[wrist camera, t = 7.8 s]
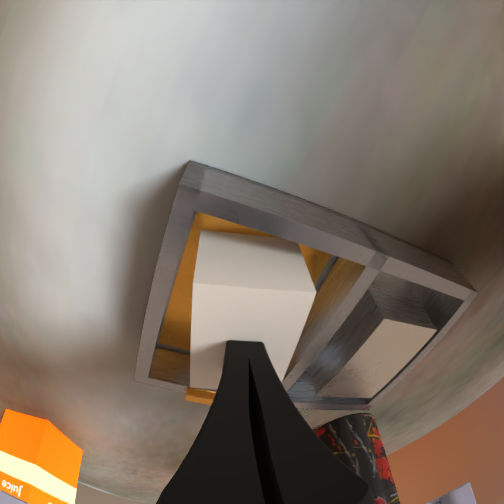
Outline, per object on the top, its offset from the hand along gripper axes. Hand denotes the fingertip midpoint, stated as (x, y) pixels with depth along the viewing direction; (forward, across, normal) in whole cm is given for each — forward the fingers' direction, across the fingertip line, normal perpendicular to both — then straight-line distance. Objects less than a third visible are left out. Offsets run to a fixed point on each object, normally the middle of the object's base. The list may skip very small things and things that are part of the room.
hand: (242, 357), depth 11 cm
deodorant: (+4, -13, +17) cm, 21 cm away
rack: (+4, -4, +1) cm, 5 cm away
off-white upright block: (+3, 0, 0) cm, 4 cm away
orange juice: (+4, +21, +27) cm, 34 cm away
